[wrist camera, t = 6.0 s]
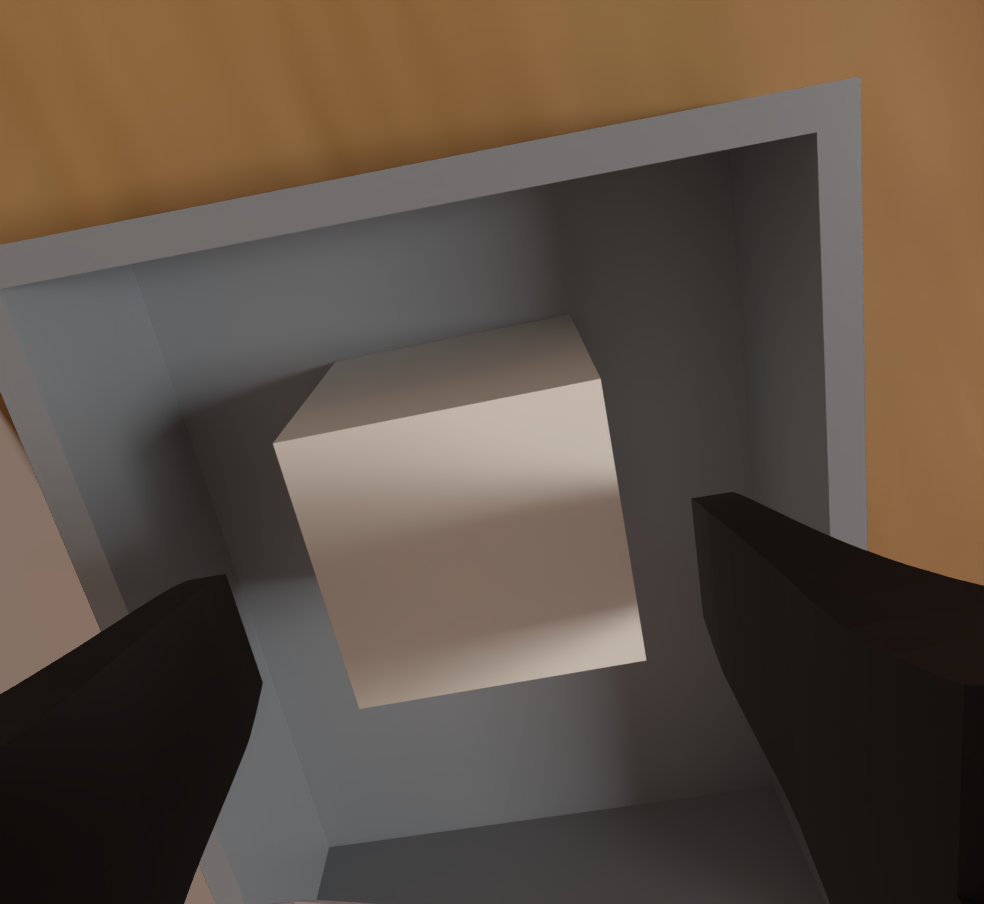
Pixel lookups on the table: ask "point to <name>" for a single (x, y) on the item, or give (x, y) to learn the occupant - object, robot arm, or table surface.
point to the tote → (636, 451)
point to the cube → (465, 513)
